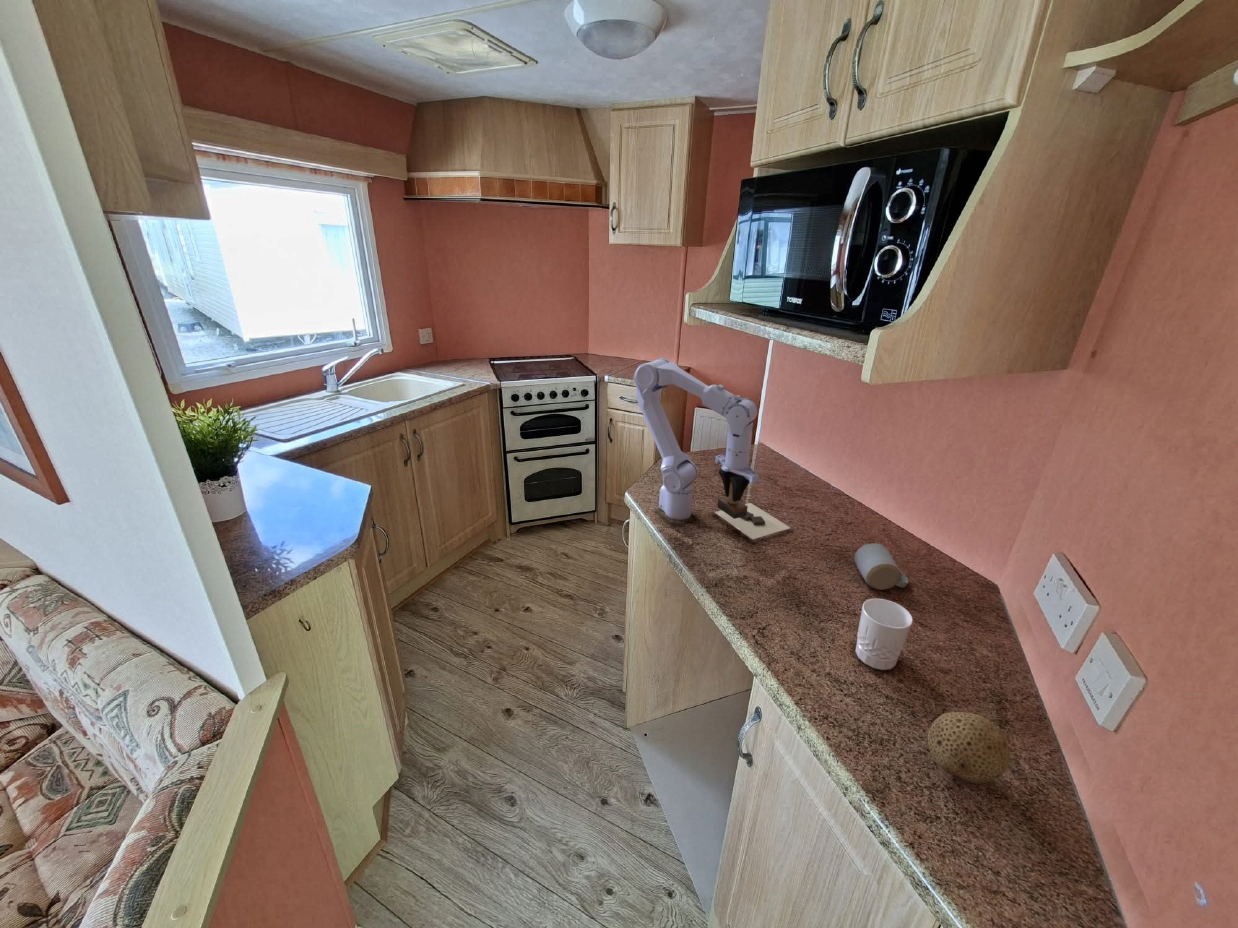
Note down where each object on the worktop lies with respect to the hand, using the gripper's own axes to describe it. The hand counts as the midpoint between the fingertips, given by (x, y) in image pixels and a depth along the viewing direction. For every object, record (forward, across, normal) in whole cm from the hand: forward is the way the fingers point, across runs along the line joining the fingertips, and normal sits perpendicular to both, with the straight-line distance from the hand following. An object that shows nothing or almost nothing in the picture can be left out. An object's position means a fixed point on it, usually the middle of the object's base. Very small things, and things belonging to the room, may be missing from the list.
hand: (732, 498), depth 126 cm
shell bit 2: (+9, +1, +9) cm, 13 cm away
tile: (+10, -1, +8) cm, 13 cm away
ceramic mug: (+10, +32, +18) cm, 38 cm away
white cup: (+10, +47, -4) cm, 48 cm away
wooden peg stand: (+4, 0, 0) cm, 4 cm away
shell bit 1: (+9, -3, +8) cm, 12 cm away
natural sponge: (+10, +67, -12) cm, 69 cm away
